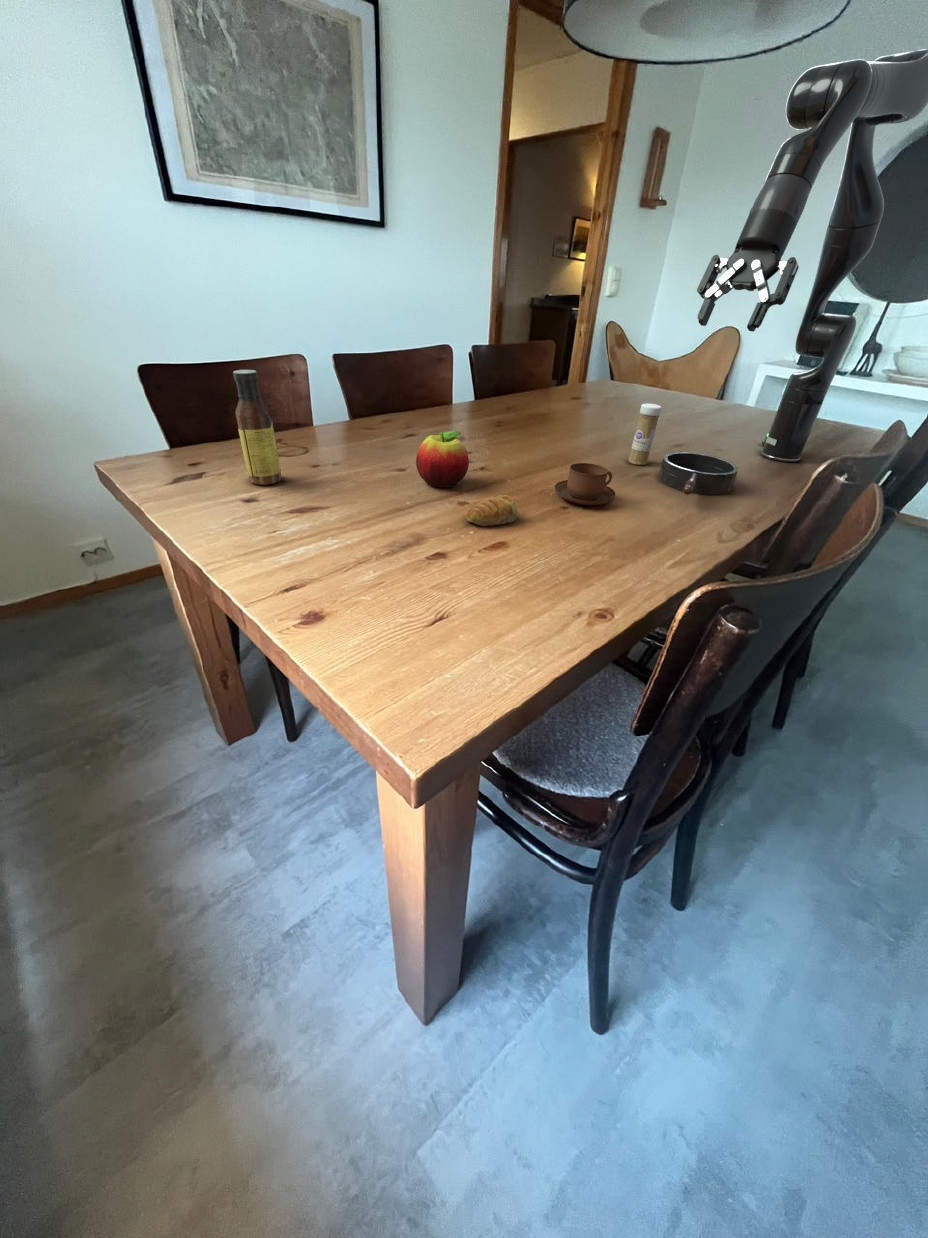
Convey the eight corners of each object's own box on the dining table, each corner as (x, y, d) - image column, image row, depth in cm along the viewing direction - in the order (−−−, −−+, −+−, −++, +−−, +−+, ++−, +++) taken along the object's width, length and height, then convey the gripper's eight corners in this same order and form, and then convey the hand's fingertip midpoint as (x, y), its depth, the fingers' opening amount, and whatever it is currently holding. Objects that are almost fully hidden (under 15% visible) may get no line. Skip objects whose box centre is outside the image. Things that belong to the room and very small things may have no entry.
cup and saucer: (575, 484, 112) (581, 455, 109) (624, 501, 106) (632, 471, 102) (541, 496, 105) (545, 466, 102) (591, 515, 98) (597, 483, 95)
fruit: (404, 481, 108) (404, 431, 102) (441, 470, 115) (443, 423, 109) (441, 496, 102) (443, 444, 96) (478, 484, 109) (482, 435, 103)
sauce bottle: (288, 479, 105) (274, 371, 94) (266, 488, 100) (248, 375, 89) (263, 473, 107) (246, 366, 96) (240, 482, 102) (219, 370, 91)
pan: (653, 468, 125) (658, 449, 123) (720, 474, 124) (726, 455, 122) (665, 490, 112) (671, 470, 110) (740, 498, 111) (747, 477, 109)
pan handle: (688, 479, 111) (691, 471, 110) (697, 481, 111) (700, 473, 110) (681, 494, 103) (683, 485, 102) (690, 496, 103) (693, 487, 102)
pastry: (481, 532, 89) (483, 510, 87) (457, 518, 94) (458, 498, 91) (521, 520, 94) (523, 500, 92) (496, 508, 99) (497, 488, 97)
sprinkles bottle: (625, 462, 128) (638, 404, 120) (633, 458, 131) (646, 401, 123) (642, 467, 126) (657, 408, 118) (650, 463, 129) (665, 405, 121)
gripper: (824, 231, 83) (772, 340, 88) (736, 231, 91) (693, 330, 96) (816, 205, 77) (761, 322, 82) (723, 206, 86) (678, 313, 91)
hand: (725, 326), depth 89 cm, fingers open, 8 cm apart
